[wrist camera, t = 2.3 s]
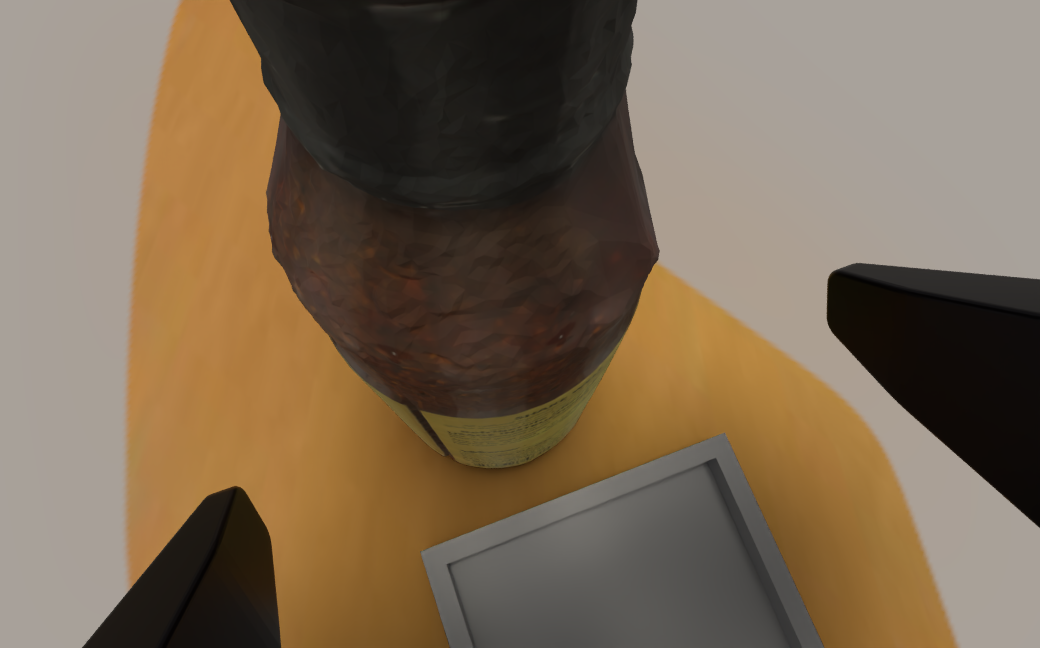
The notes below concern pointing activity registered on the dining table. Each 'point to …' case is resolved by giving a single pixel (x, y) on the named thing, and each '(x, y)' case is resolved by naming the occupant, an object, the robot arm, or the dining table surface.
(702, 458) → the tray
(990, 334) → the robot arm
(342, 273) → the sauce bottle
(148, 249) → the dining table surface
